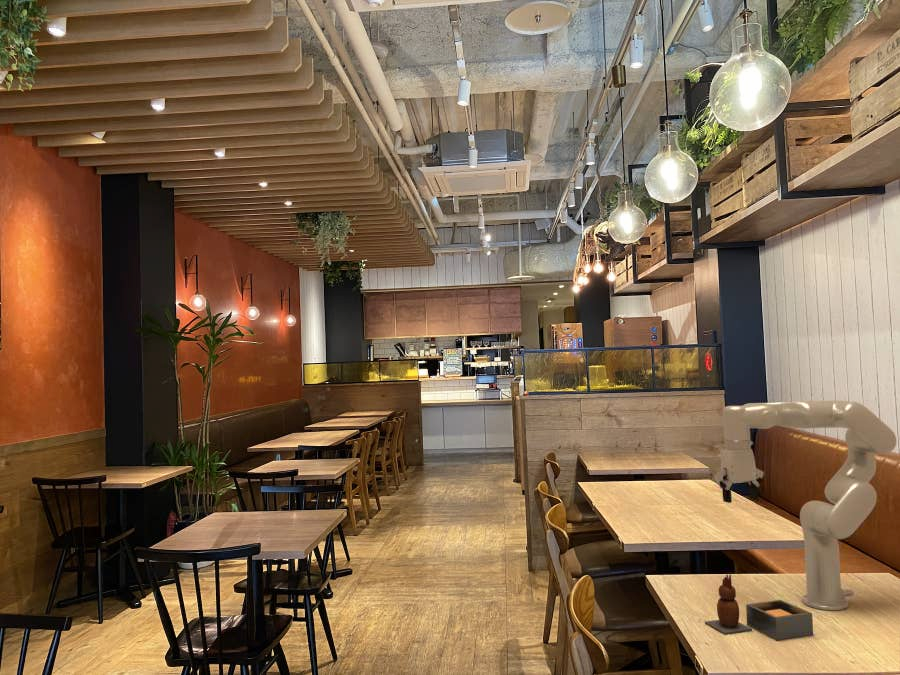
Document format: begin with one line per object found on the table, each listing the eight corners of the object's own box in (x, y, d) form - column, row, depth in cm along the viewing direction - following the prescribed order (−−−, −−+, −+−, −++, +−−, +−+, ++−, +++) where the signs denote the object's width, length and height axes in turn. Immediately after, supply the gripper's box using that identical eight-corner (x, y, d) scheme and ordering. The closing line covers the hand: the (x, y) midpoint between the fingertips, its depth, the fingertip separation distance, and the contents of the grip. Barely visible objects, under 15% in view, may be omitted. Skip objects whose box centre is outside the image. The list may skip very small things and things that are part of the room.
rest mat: (731, 620, 203) (731, 618, 203) (752, 631, 195) (752, 628, 195) (704, 623, 201) (704, 621, 201) (724, 635, 192) (724, 632, 192)
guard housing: (781, 620, 202) (780, 599, 202) (813, 635, 190) (812, 613, 191) (747, 625, 199) (746, 604, 199) (776, 640, 187) (775, 618, 187)
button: (780, 614, 199) (780, 608, 199) (798, 622, 192) (798, 617, 192) (759, 617, 197) (759, 611, 197) (777, 626, 190) (777, 620, 190)
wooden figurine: (742, 630, 194) (739, 576, 195) (720, 629, 195) (718, 575, 196) (736, 621, 201) (734, 569, 201) (715, 620, 202) (713, 568, 202)
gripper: (752, 442, 221) (755, 496, 220) (706, 446, 216) (709, 501, 215) (769, 444, 213) (772, 500, 213) (721, 448, 209) (724, 505, 208)
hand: (740, 500), depth 214 cm, fingers open, 9 cm apart
